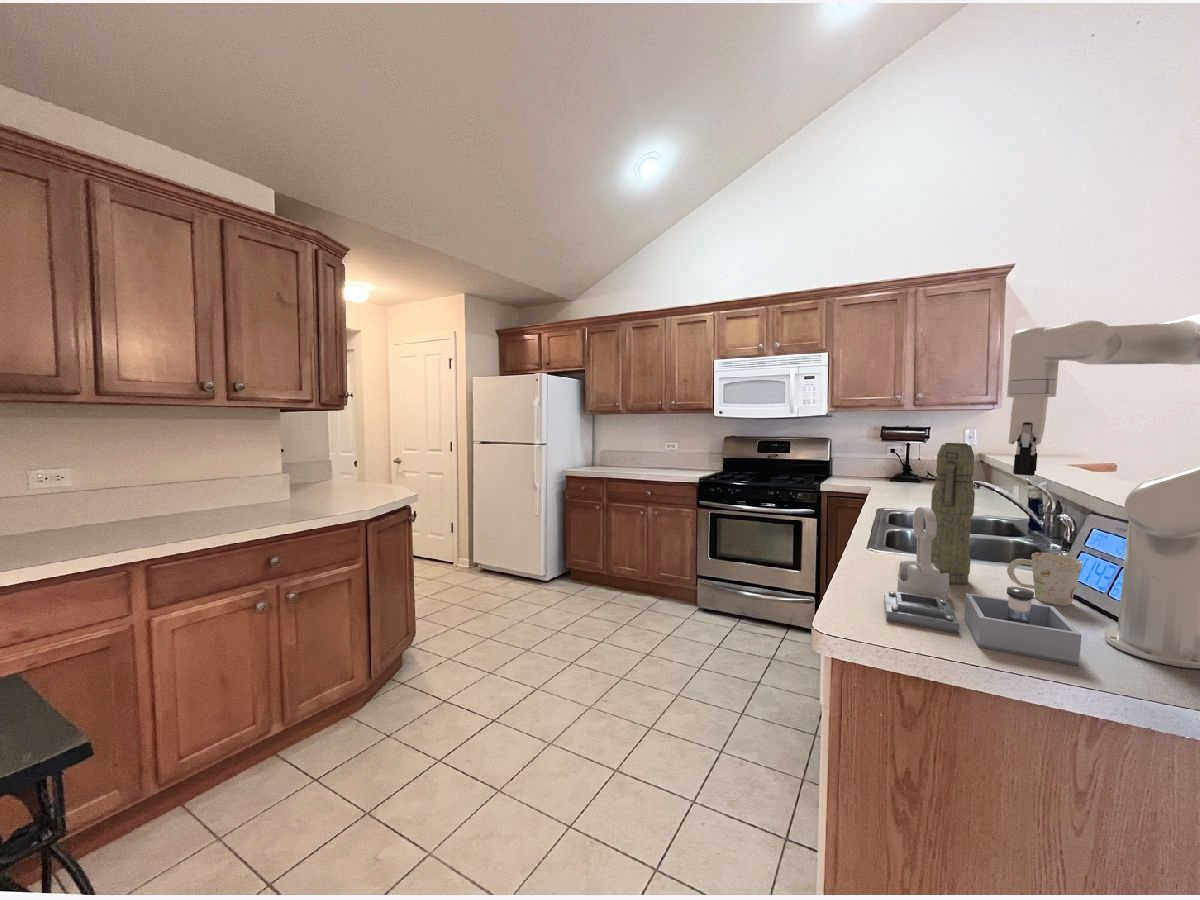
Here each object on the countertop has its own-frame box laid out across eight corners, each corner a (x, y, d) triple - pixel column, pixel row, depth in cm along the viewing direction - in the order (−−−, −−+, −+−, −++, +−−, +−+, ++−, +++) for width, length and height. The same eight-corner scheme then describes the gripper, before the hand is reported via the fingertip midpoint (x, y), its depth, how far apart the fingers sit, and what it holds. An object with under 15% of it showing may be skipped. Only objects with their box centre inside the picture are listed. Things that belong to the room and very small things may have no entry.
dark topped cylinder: (1001, 628, 94) (1005, 583, 93) (1034, 637, 91) (1038, 590, 90) (998, 636, 90) (1002, 590, 90) (1032, 645, 87) (1036, 597, 86)
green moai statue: (924, 581, 122) (932, 443, 119) (929, 569, 131) (937, 441, 129) (968, 589, 117) (978, 445, 114) (969, 576, 126) (979, 443, 123)
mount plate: (948, 611, 103) (949, 596, 103) (958, 633, 93) (959, 617, 93) (884, 600, 109) (884, 586, 109) (886, 620, 99) (887, 605, 98)
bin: (1050, 633, 93) (1053, 606, 93) (1078, 666, 81) (1081, 634, 81) (964, 619, 100) (965, 593, 99) (978, 646, 88) (980, 617, 87)
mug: (1076, 611, 104) (1080, 566, 103) (1001, 594, 114) (1005, 553, 113) (1080, 601, 110) (1083, 558, 109) (1008, 586, 119) (1011, 546, 118)
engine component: (907, 599, 110) (957, 603, 108) (913, 511, 108) (963, 513, 106) (889, 583, 120) (933, 586, 118) (893, 502, 119) (939, 504, 117)
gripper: (1010, 391, 107) (1004, 468, 109) (1004, 388, 95) (997, 474, 96) (1056, 391, 102) (1050, 471, 103) (1056, 387, 90) (1049, 478, 91)
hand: (1024, 472), depth 100 cm, fingers open, 9 cm apart
